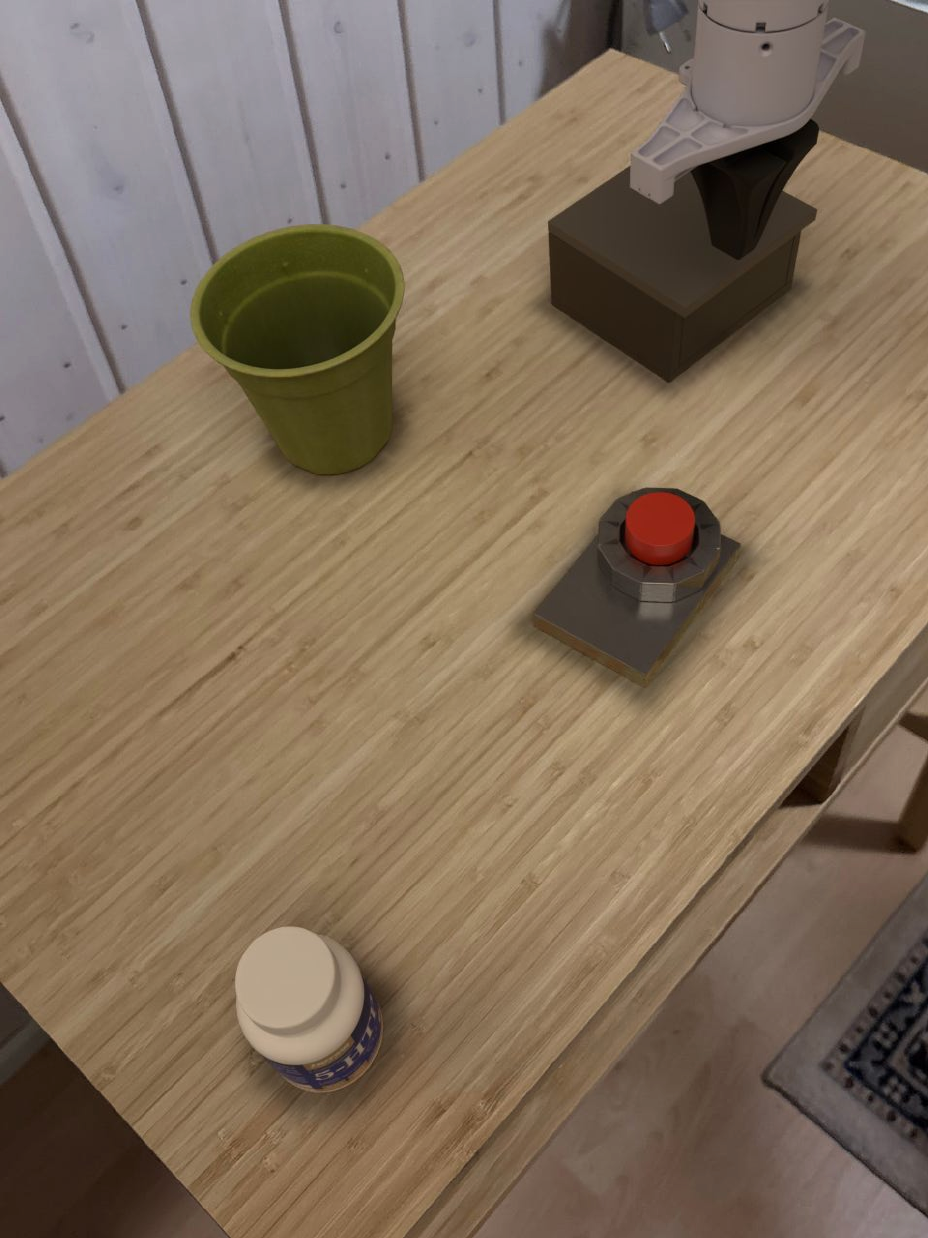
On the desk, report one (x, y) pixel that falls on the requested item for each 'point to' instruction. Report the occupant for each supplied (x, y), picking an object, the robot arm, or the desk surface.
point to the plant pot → (308, 338)
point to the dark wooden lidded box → (662, 307)
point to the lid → (667, 239)
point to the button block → (635, 592)
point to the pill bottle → (307, 1009)
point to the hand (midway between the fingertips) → (733, 246)
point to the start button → (659, 528)
